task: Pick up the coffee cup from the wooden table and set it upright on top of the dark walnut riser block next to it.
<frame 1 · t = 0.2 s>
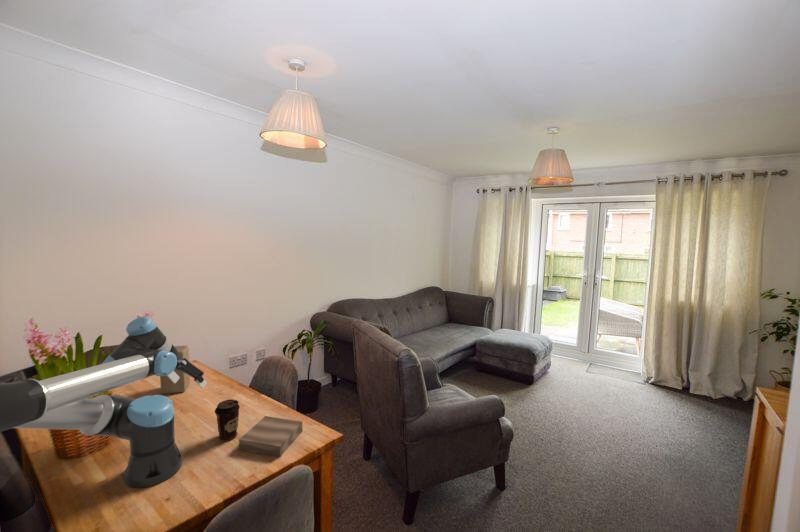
hand: (190, 382, 143), 15 cm above the table, tool tilted 35°, fingers open, 13 cm apart
block: (176, 389, 169), on the table
riser: (272, 440, 131), on the table
coffee cup: (228, 437, 133), on the table
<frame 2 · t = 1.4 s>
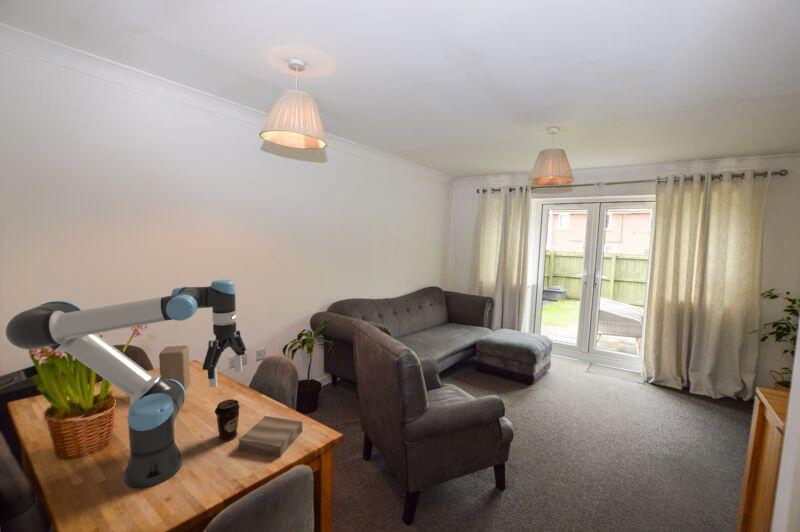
hand: (226, 378, 130), 23 cm above the table, tool pointing down, fingers open, 13 cm apart
nothing on the table moved.
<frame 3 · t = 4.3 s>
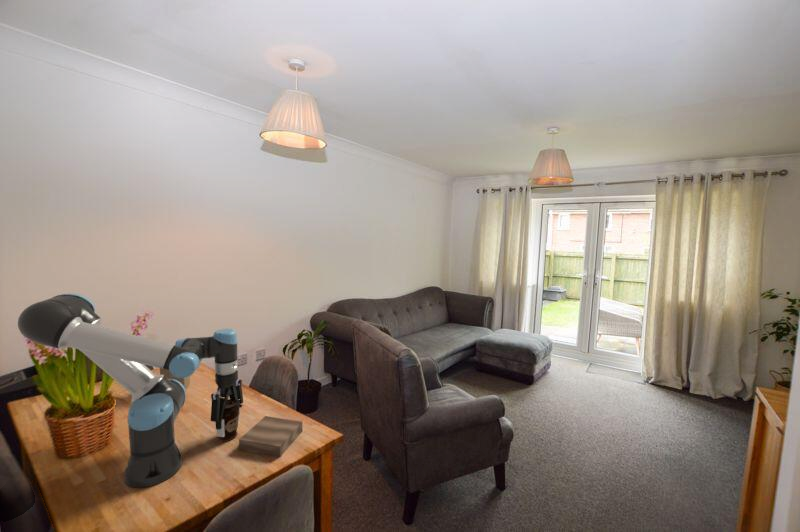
hand: (228, 429, 132), 3 cm above the table, tool pointing down, fingers closed on coffee cup, 7 cm apart
coffee cup: (228, 437, 133), on the table, touching gripper
everything else where it was.
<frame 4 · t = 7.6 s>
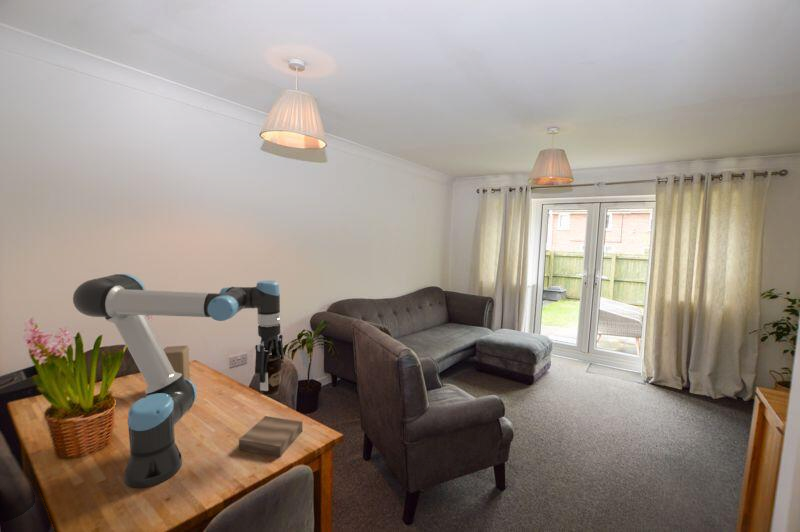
hand: (270, 385, 129), 21 cm above the table, tool pointing down, fingers closed on coffee cup, 7 cm apart
coffee cup: (270, 392, 129), point 19 cm above the table, touching gripper
everything else where it was.
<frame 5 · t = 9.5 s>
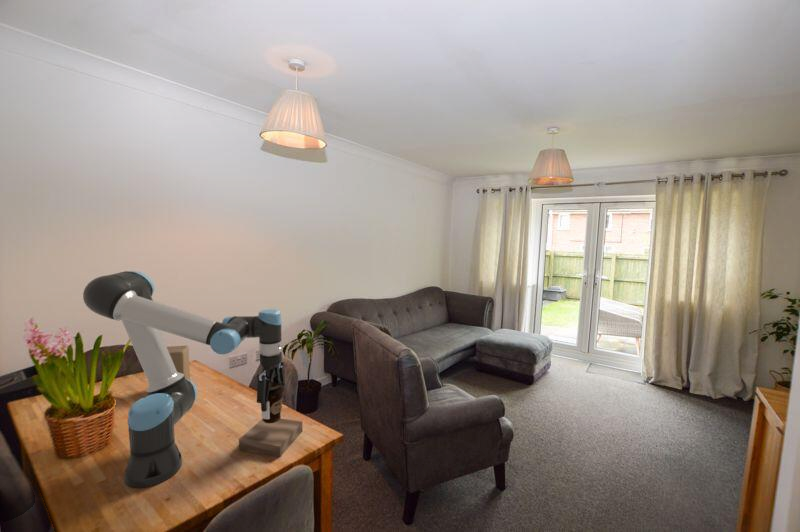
hand: (272, 412, 130), 11 cm above the table, tool pointing down, fingers closed on coffee cup, 7 cm apart
coffee cup: (272, 419, 130), point 8 cm above the table, touching gripper
everything else where it was.
when the fingers open (8 cm above the table, at t = 11.0 s): coffee cup drops 1 cm, resting on riser.
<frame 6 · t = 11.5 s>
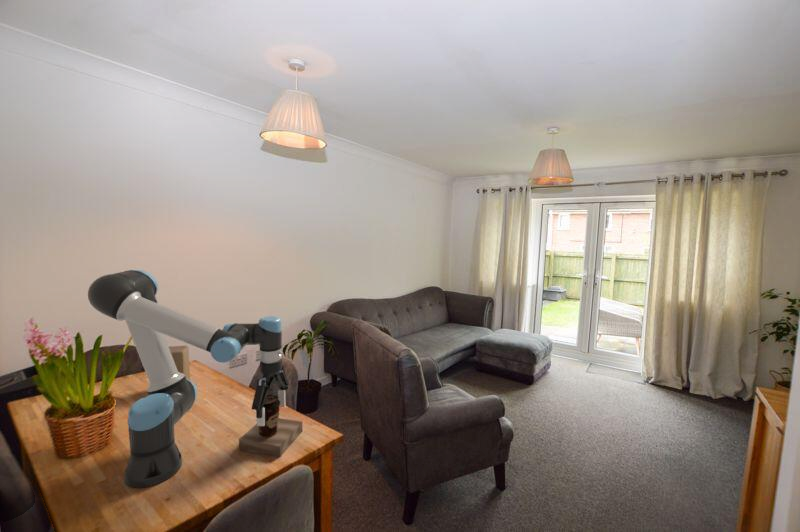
hand: (271, 415, 130), 10 cm above the table, tool pointing down, fingers open, 13 cm apart
coffee cup: (268, 433, 129), point 4 cm above the table, touching riser
everything else where it was.
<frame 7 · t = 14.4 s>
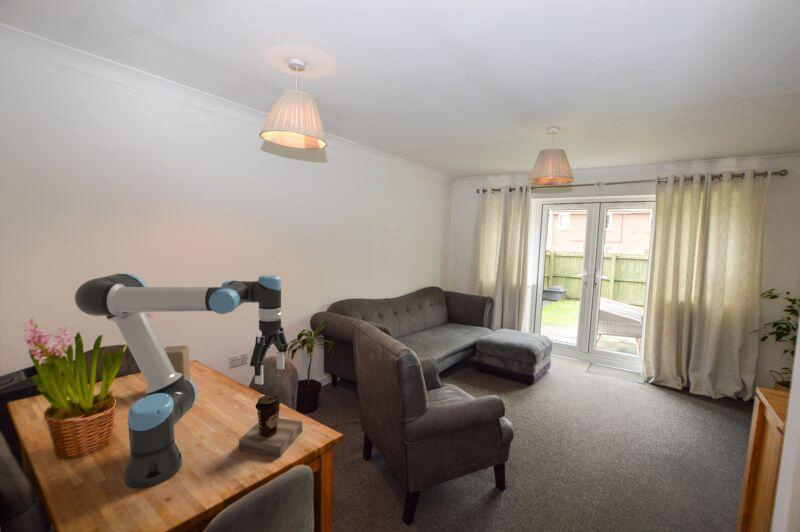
hand: (270, 375, 128), 25 cm above the table, tool pointing down, fingers open, 13 cm apart
nothing on the table moved.
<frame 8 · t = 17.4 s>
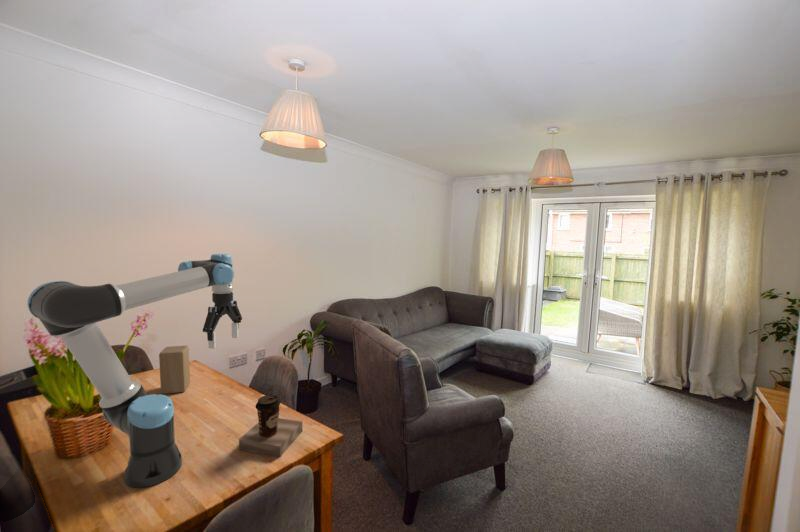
hand: (224, 342, 146), 31 cm above the table, tool pointing down, fingers open, 13 cm apart
nothing on the table moved.
at the end: coffee cup inside the target area on the riser (1.9 cm from its centre), point 3.8 cm above the riser's base; coffee cup tilted 0°; the gripper is holding nothing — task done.
